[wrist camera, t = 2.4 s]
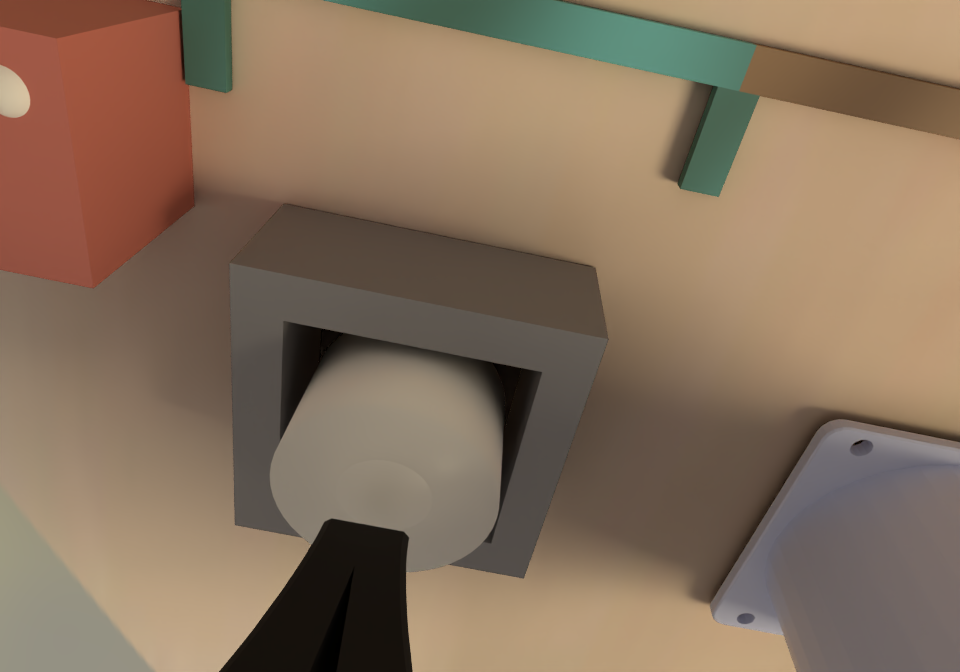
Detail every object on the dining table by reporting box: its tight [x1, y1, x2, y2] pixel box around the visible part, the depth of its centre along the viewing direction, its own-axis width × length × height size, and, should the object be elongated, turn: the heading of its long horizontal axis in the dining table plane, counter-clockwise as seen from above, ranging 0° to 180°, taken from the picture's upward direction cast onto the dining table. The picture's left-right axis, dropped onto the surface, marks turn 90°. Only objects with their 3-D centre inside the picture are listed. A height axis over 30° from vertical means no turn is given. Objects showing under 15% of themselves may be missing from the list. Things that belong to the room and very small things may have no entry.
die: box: [0, 0, 194, 288], centre depth 12 cm, size 4×4×4 cm
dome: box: [270, 333, 505, 572], centre depth 14 cm, size 4×4×3 cm
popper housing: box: [229, 204, 608, 578], centre depth 15 cm, size 7×7×3 cm
